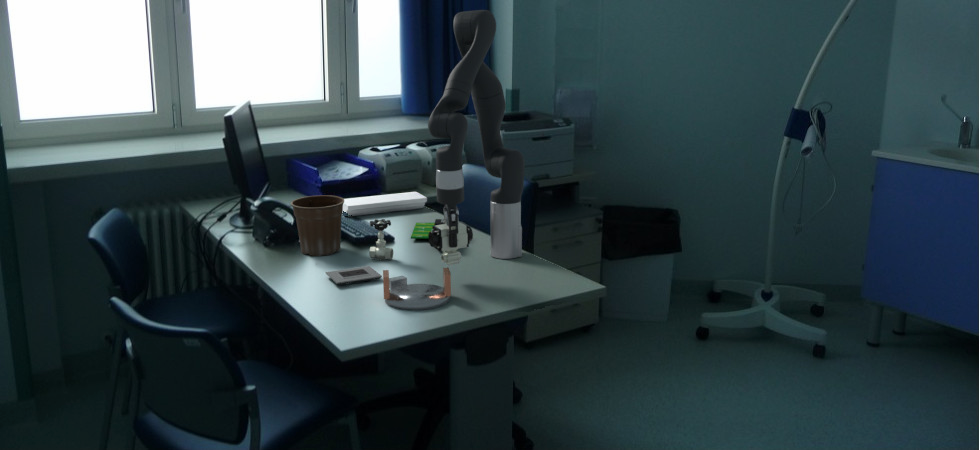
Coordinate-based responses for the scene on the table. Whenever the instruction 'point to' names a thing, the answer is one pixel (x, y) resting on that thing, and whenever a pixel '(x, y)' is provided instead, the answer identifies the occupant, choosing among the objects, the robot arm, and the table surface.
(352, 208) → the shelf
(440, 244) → the pneumatic valve
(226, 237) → the table surface
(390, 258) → the valve
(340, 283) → the electrical outlet
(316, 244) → the plant pot
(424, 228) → the circuit board with cylinder
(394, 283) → the grey rectangular block
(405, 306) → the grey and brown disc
